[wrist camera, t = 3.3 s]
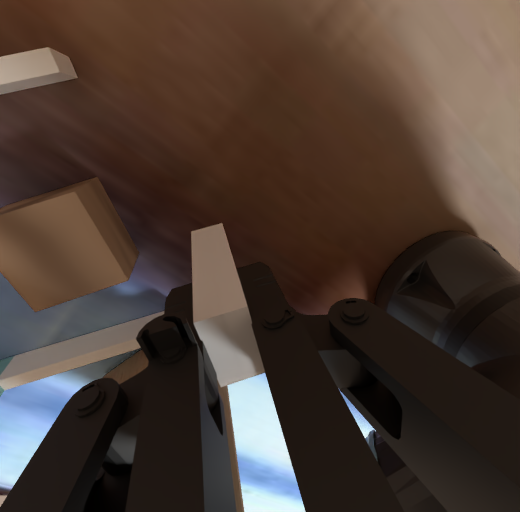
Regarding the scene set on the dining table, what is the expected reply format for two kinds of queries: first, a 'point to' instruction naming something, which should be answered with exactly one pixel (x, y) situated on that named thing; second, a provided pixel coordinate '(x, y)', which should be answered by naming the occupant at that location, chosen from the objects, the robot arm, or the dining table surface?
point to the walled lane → (89, 345)
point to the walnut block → (64, 245)
